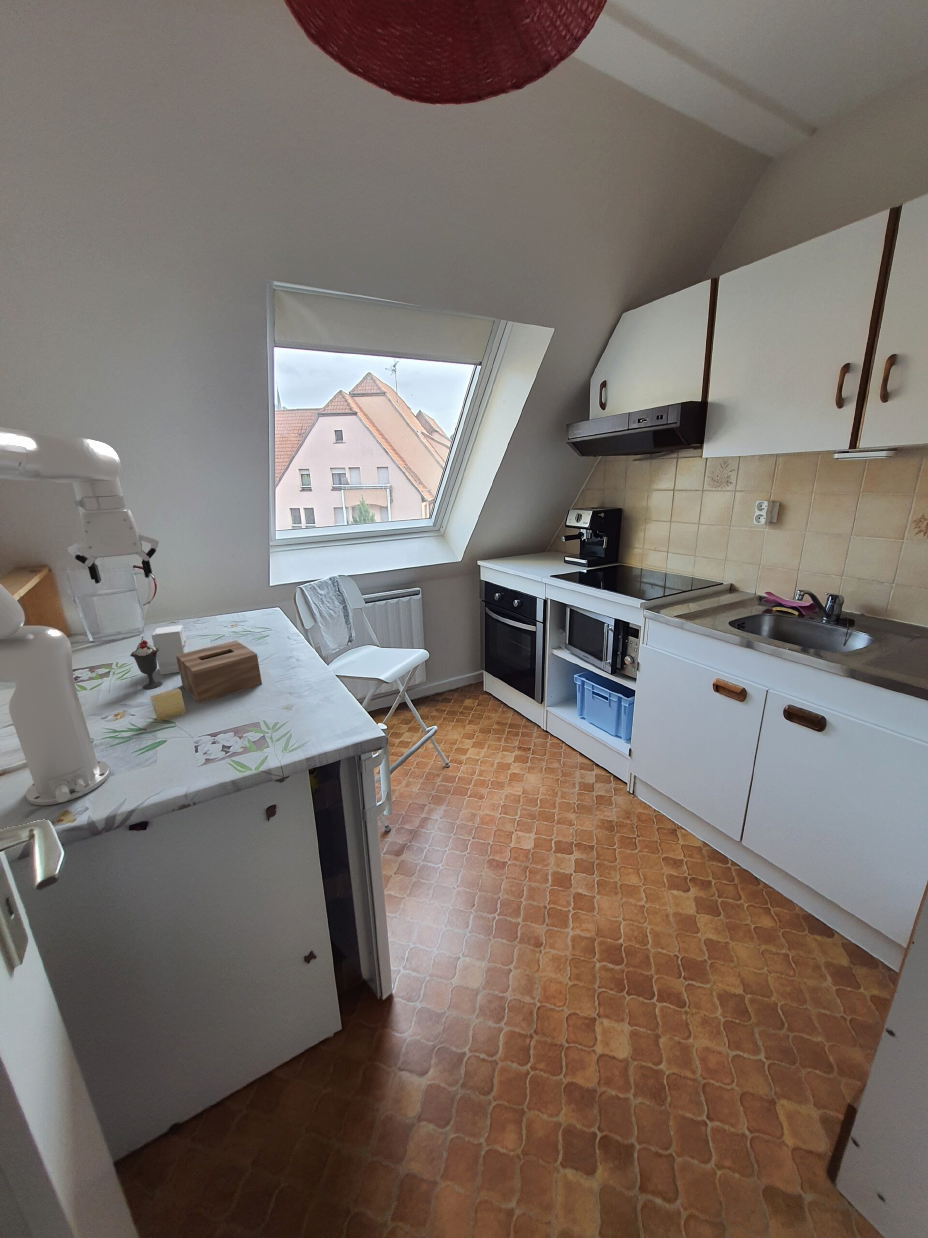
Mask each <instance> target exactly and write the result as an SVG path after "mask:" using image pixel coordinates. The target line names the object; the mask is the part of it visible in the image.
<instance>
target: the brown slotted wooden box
mask: <svg viewBox="0 0 928 1238" xmlns="http://www.w3.org/2000/svg"><path fill="white" fill-rule="evenodd" d="M176 658H177V663H178V667H179V672H178V673H179V675H180V681H181V684H182V687H184V689H185V690H186V691H188V693H190V695H191V696H192V697H193V698H194V699H195V700H196V702H198V703H199V704H202V703H205V702H209V701H211V700H215V699H218V698H221V697H225V696H227V695H228V696H229V695H231V694H235V693H238V692H241V691H244V690H247V689H251V688H253V687H256V686H260V685H262V684H263V682H262V677H261V676H262V675H261V670H260V665H259V657H258V653H256V652H255V651H253V650H252V649H250V648H248V647H247V646H245V645H244V644H243V643H241V642H240V641H237V640H233V641H228V642H224V643H220V644H216V645H211V646H208V647H204V648H200V649H195V650H192V651H188V652H187V653H183V654H178V655H176Z"/></svg>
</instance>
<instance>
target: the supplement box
mask: <svg viewBox="0 0 928 1238" xmlns="http://www.w3.org/2000/svg"><path fill="white" fill-rule="evenodd" d="M151 639H152V644H153V647H155V648H158V649H159V651H158V652H157V657H156V658H157V667H158V670H159V675H167V674H168V675H169V674H173V673H175V674H176V673H180V672H179V667H178V663H177V658H176V655H178V654H183V653H187V652H189V649H188V643H187V638H186V635H185V630H184V626H183V624H178V625H172V626H164V627H156V628H155V630H154V631H153V633H152V634H151Z"/></svg>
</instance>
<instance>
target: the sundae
mask: <svg viewBox="0 0 928 1238" xmlns="http://www.w3.org/2000/svg"><path fill="white" fill-rule="evenodd" d="M158 651H159V649H158V648H155V647H154V645H152V644H151V643H150V642H149V641H147V640H146V639H144V636H141V640H140V643H138V645H137V647H136V649H135V650H134V651H132V652H131V653H130V654H129V655H130V657H131V658H133V659H134V661H135V663H136V665H137V667H138V669H139V671H140V673H142V674H143V675H147V679H148V682H147V683H145V684H143V685H142V686H141V687H142V689H143V690H152V689H157V688H158V687H161V686H162V685H163V684H164V683H163V681H159V680H156V679H155V678H154V673H155V672H156V671H157V670H158V661H157V652H158Z"/></svg>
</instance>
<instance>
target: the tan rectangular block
mask: <svg viewBox="0 0 928 1238" xmlns="http://www.w3.org/2000/svg"><path fill="white" fill-rule="evenodd" d="M150 700H151V703H152V708H153V713H154V716H155V719H156V721H157V722H161V721H165V720H169V719H172V718H174V717H178V716H181V715H184V714H187V712H186V707H185V703H184V698H183V694H182V691H181V689H180V688H175V689H171V690H168V691H165V692H160V693H157V694H154V695H153V694H152V695H151V696H150Z"/></svg>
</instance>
